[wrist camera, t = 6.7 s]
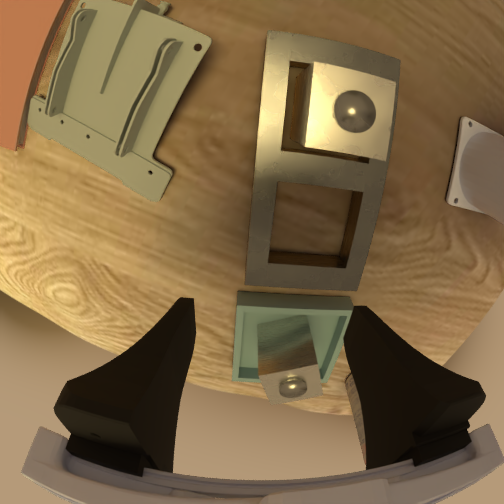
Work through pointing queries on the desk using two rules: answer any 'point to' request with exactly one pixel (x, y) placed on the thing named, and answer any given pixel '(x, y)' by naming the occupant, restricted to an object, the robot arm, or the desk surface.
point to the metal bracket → (119, 88)
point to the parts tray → (284, 306)
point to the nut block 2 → (343, 111)
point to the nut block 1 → (288, 360)
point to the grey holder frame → (312, 170)
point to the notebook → (24, 59)
